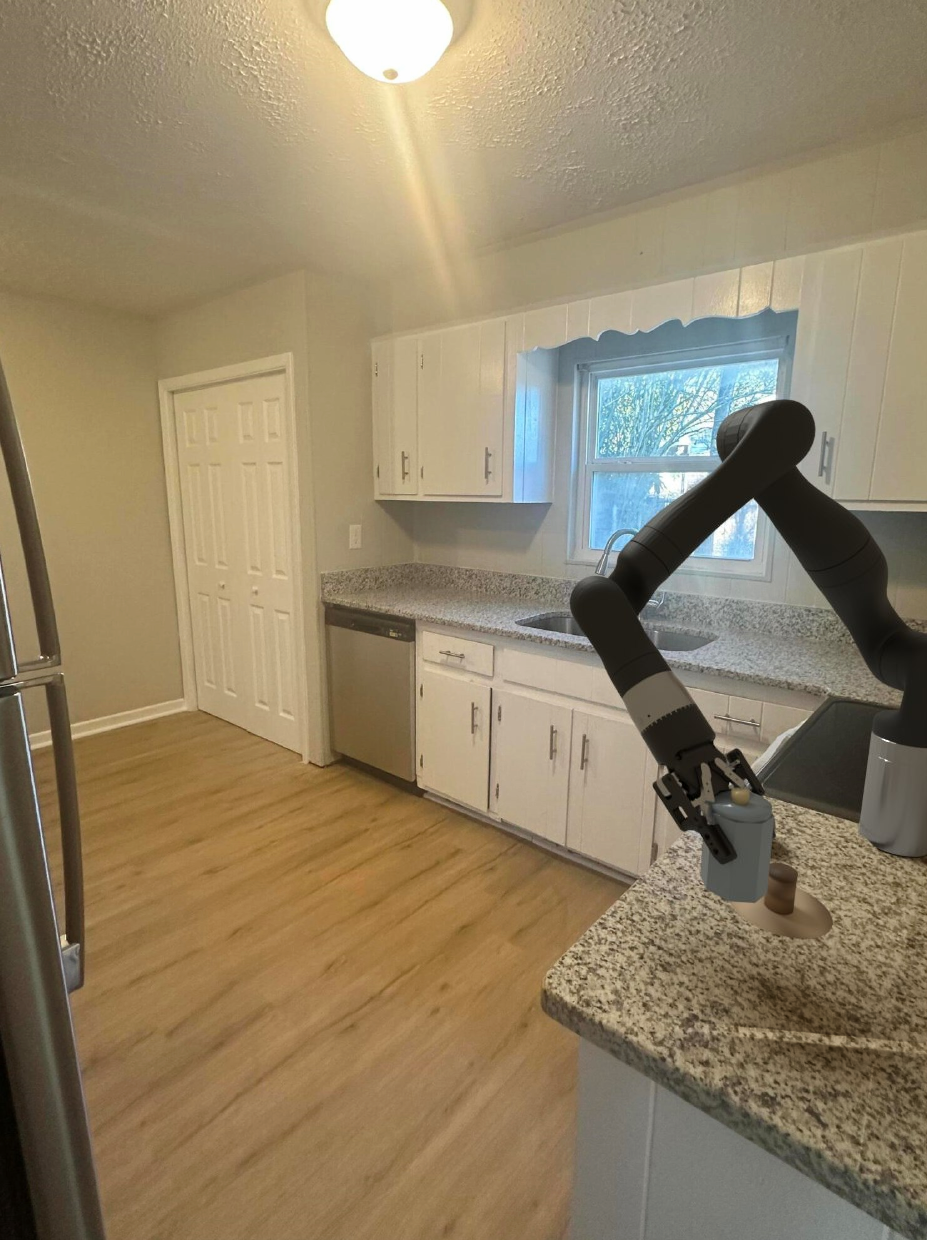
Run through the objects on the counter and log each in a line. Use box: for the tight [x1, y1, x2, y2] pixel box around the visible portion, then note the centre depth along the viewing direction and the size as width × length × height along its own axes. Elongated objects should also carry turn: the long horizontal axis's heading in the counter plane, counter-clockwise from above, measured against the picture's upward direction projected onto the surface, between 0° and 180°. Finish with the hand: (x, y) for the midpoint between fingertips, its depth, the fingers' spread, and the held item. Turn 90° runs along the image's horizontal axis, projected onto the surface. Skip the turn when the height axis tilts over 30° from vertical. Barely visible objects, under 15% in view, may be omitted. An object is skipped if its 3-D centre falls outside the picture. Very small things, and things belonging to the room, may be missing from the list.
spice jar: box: [764, 862, 799, 915], centre depth 80 cm, size 4×4×5 cm
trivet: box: [729, 886, 833, 940], centre depth 80 cm, size 12×12×1 cm
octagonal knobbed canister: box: [700, 788, 775, 903], centre depth 69 cm, size 6×6×11 cm
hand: (749, 850), depth 67 cm, fingers closed on octagonal knobbed canister, 6 cm apart
